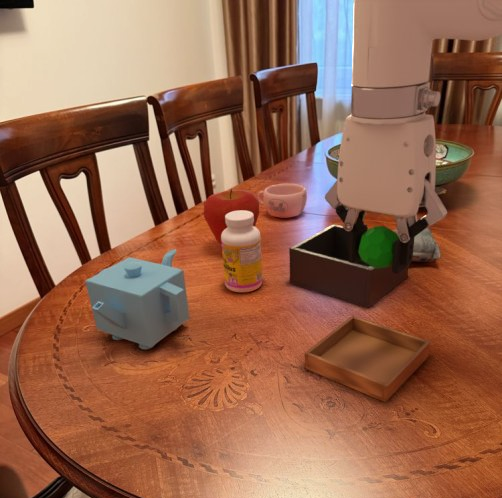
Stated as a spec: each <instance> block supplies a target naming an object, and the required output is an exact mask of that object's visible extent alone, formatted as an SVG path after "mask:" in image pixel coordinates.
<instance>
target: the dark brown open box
mask: <svg viewBox="0 0 502 498" xmlns="http://www.w3.org/2000/svg"><path fill="white" fill-rule="evenodd" d="M288 249H289V251H288V252H289V254H288V255H289V284H291V285H294V286H298V287H301V288H304V289H307V290H310V291H313V292H317V293H320V294H323V295H327V296H329V297H333V298H335V299H338V300H341V301H345V302H347V303H351V304H354V305H358V306H361V307H364V308H366V309H369V308H371V307H372V306H373V305H374V304H375V303H377V302H378V301H379V300H381V299H382V298H383V297H384V296H386V295H387V294H388V293H390V292H391V291H392V290H393V289H395V288H396V287H397V286H398V285H399V284H401V283H402V282H404V280H405V279H407V278H408V276H409V268H410V265H409V266H407V267H406V268H405V269H404V270H402V271H401V272H400V273H399V274H395V273H393V272H392V265H391V266H388V267H385V268H377V269H376V268H374V267H372V266H371V265H369V264H367V263H366V262H364V261H362V260H361V259H360V260H358V261H357V262H355V263H351V262H349V252H348V231H346V230H345V229H344V225H343V226H342V225H338V224H335V223H333V224H331V225H329V226H327V227H325V228H324V229H322V230H320V231H318V232H316V233H315V234H313V235H311V236H309V237H307V238H305V239H303V240H302V241H300V242H298V243H297V244H295V245H292V246H291V247H289V248H288Z"/></svg>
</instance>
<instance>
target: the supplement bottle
mask: <svg viewBox="0 0 502 498" xmlns="http://www.w3.org/2000/svg"><path fill="white" fill-rule="evenodd" d="M253 222H254V215H253V213H252V212H250V211H244V210H240V211H233V212H230V213H228V214H226V215H225V223H226V225H227V228H226V229H225V230H224V231H223V232H222V234H221V243H222V245H221V251H222V252H221V254H222V264H223V265H222V266H223V278H224V279H223V280H224V285H225V287H226V288H227V289H228V290H230V291H231V292H235V293H249V292H253V291H255V290H257V289H259V288H260V287H261V286H262V284H263V264H262V263H263V262H262V240H261V239H262V238H261V232H260V230H259V228H257V227H256V226H255V227H254V226H253Z"/></svg>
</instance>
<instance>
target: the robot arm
mask: <svg viewBox="0 0 502 498" xmlns="http://www.w3.org/2000/svg"><path fill="white" fill-rule="evenodd" d="M352 18H353V19H352V20H353V21H352V23H353V25H352V28H353V29H352V54H351V55H352V57H351V59H352V61H351V62H352V63H351V100H350V101H351V103H350V115H347V116H346V118H345V122H344V124H343V125H344V126H343V129H342V136H341V139H340V140H341V141H340V147H339V155H338V165H337V180H336V181H335V182H334V183H333V184H332V186H331V187H330V188H329V189H328V191H327V192H326V193H325V195H324V199H325V201H326V202H327V203H328V204H329V205H330V206H331V208H332V209H333V210H335V213H336V215H337V216H338V218H339V219H340V220H341V221H342V223H343V227H344V229H345V230H346V231H348V252H349V262H351V263H355V262H357V261H358V260H360V259H361V257H360V255H359V253H358V250H359V245H360V241H361V237H362V235H363V234H364V233H365V232H366V231H367V230H368V229H369V228H368V224H366V223H365V219H366V217H367V213H368V212H370V213H374V214H375V213H376V214H382V215H387V216H392V217H394V220H395V225H396V230H397V231H398V236H399V238H398V240H396V241H395V242H394V248H393V261H392V272H393V273H395V274H399V273H400V272H401V271H402V270H404V269H405V268H406V267H407V266H409V267H410V265H411V263H412V262H413V261H412V258H413V249H414V238H415V236H416V235H418V234H419V233H420V232H422V231H423V230H424V229H426V228H428V229H429V228H430V227H431V226H433V225H435V224H437V223H438V222H440V221H442V220H443V219H444V218H446V217H447V216H448V210H447V209H446V206H445V205H444V204H443V201H442V200H441V198H440V197H439V195H438V194H437V192H436V190H435V189H436V172H437V171H436V170H437V145H436V144H437V142H436V141H437V140H436V129H435V119H434V115H433V114H427V113H426V112H427V111H428V109H429V108H431V107H438V106H439V105H440V102H441V92H440V91H434V90H433V89H431V82H429V81H430V70H431V59H432V49H433V41H434V40H462V41H472V42H477V41H478V42H479V41H486V40H489V39H493V38H496V37H499V36H501V35H502V0H353V17H352ZM419 208H425V209H426V211H427V213H426V215H424V216H422V217H421V218H420V219H419V218H418V212H419Z"/></svg>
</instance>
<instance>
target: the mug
mask: <svg viewBox="0 0 502 498" xmlns="http://www.w3.org/2000/svg"><path fill="white" fill-rule="evenodd" d="M307 193H308V192H307V189H306V188H305V186H303V185H301V184H297V183H277V184H272V185H269V186H267V187H266V188H265V189H264V190H259V191H258V193H257V196H256V197H257V198H258V199H259V205H261V206H264V207H265V209H266V210H265V211H266V212H267V213H268V214H269V215H270V216H272V217H275V218H282V219H283V218H284V219H285V218H286V219H287V218H293V217H297V216H299V215H301V214H302V213H303V211H304V209H305V207H306V205H307V200H308V195H307ZM262 196H263V197H262ZM262 199H263V201H262Z"/></svg>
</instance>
